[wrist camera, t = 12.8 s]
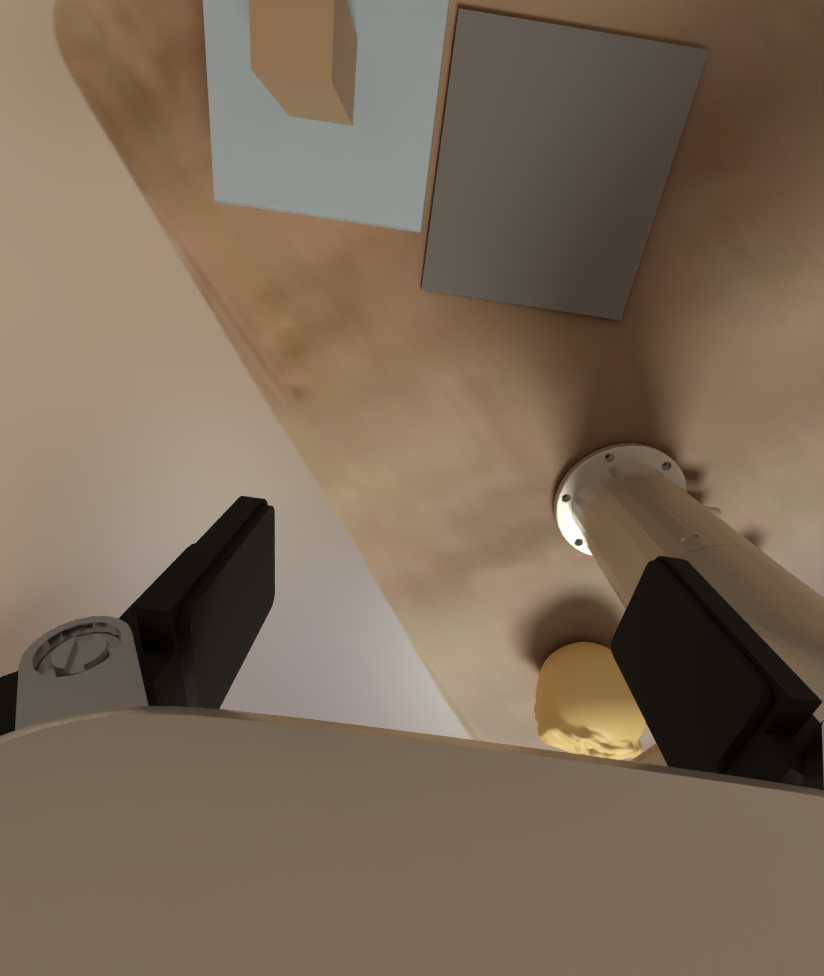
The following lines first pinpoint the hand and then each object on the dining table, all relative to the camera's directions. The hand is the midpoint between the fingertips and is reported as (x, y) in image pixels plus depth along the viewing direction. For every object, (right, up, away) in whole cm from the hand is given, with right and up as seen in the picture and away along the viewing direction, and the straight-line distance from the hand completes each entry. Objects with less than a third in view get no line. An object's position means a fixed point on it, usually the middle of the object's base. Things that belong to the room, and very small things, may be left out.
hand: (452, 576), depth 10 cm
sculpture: (+20, -20, +42) cm, 51 cm away
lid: (-6, +27, +16) cm, 32 cm away
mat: (+9, +25, +21) cm, 34 cm away
